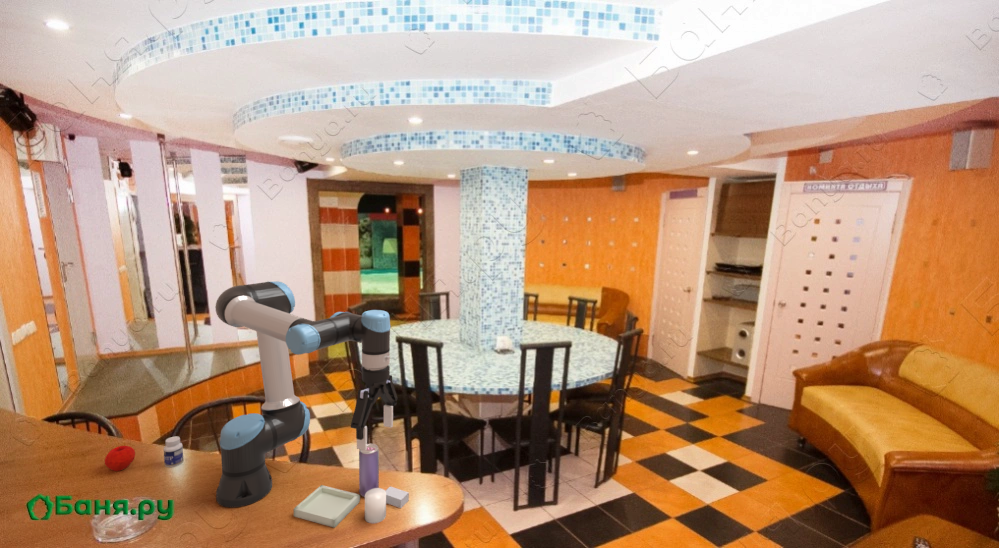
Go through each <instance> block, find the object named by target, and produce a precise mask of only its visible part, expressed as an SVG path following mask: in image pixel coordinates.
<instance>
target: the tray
mask: <svg viewBox="0 0 999 548" xmlns="http://www.w3.org/2000/svg"><path fill="white" fill-rule="evenodd" d="M360 502H361V494H360V493H356V492H352V491H351V492H350V491H347V490H342V489H339V488H336V487H335V488H334V487H332V486H326V485H323V484H321V485H320V486H319V487H317V488H316V489H315V490H314V491H312V493H311V492H310V494H309V495H308V496H306V497H305V499H303V500H302V501H301V502H300V503H298V504H297V505H296V506H295V507H294V508H293V517H295V518H299V519H302V520H305V521H310V522H313V523H316V524H320V525H324V526H325V527H326V526H327V527H331V528H334V529H335V528H337V526H338V525H339V524H340V523H341V522H342V521H343V520H344V519H345V518H346V517H347V516H348V515H349V513H351V512H352V511H353V509H354V508H356V507H357V506H358V504H359V503H360Z"/></svg>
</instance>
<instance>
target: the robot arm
mask: <svg viewBox="0 0 999 548" xmlns="http://www.w3.org/2000/svg"><path fill="white" fill-rule="evenodd" d="M295 307H296V299H295V296H294V293H293V291H292V290H291V288H290V286H288V285H287V284H286V283H285V282H282V281H279V280H277V281H265V282H259V283H251V284H242V285H235V286H232V287H229V288H227V289H226V290H224V291H223V292H221V294H219V296H218V298H217V300H216V302H215V312H216V316H217V317H218V319H220V321H221V322H223V323H224V324H226V325H228V326H230V327H233V328H247V329H249V330H252V331H255V332H256V337H257V345H258V352H259V361H260V368H261V375H262V377H261V378H262V384H263V388H264V389H263V390H264V398H265V401H264V403H263V404H262V405H261V414H260V413H255V412H254V413H248V414H241V415H239V416H237V417H234V418H232V419H231V420H229V421H228V422H226V423H225V424H224V426H222V428H221V430H220V436H219V437H220V439H219V446H220V457H221V476H220V478H219V479H220V480H219V483H218V486H217V489H216V492H215V494H216V497H215V498H216V503H217V504H218V505H219V506H220V507H225V508H240V507H245V506H249V505H252V504H254V503H256V502H258V501H261V500H262V499H263V498H265V497H266V496H268V494H269V493H270V492H271V491H272V488H273V479H272V476H271V475H272V474H271V473H270V471H269V468H268V466H267V464H266V454H267V453H269V452H271V451H272V450H276V449H277V448H279V447H281V446H284V445H285V444H288V443H290V442H292V441H295V440H297V439H298V438H300V437H302V436H304V434H305V433H306V432H307V431H308V429H309V427H310V424H311V413H310V410H309V408H307V407H308V405H306V403H304V402H303V401H301V399H300V397H299V396H296V395H295V389H294V384H293V376H292V368H291V367H292V366H291V361H290V353H289V351H290V352H291V353H292V354H294V355H297V356H299V355H303V354H310V353H313V352H316V351H318V350H319V351H320V350H322V349H325V348H329V347H332V346H335V345H339V344H342V343H346V342H349V341H350V342H356V343H359V344H360V343H361V366H362V368H361V380H362V382H364V384H365V387H364V389H359V390H358V391H357V399H356V404H355V406H354V407H355V408H354V411H353V415H352V419H351V421H350V428H352V429H355V431H356V433H355V434H356V437H355V438H356V449H357V450H360V449H361V450H367V444H368V426H367V421H368V419H369V416H370V414H371V411H372V408H373V406H374V405H375V404H376V401H377V400H378V399H379V398H381V400H382V401H383V402H384V404H383V427H386V428H390V429H391V428H393V427H394V406H397V404H398V403H397V402H398V394H397V391H396V388H395V386H394V382H393V375H392V374H391V373H390V370H391V368H390V359H391V356H390V354H391V353H390V346H391V345H390V344H391V343H390V342H391V340H390V339H391V327H392V326H391V317H390V314H389V312H388V311H385V310H381V309H371V310H367V311H364V312H363V313H362V314H361V315H360V314H355V313H351V312H349V311H345V312H344V311H337V312H335V313H333V314H332V315H331V316H330V317H328V318H324V319H320V320H311V319H306V318H304V317H301V316H298V315H295V314H291V313H292V312H293V311H294V309H295Z"/></svg>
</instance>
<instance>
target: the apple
mask: <svg viewBox="0 0 999 548" xmlns="http://www.w3.org/2000/svg"><path fill="white" fill-rule="evenodd" d="M135 457H136V451H135V449H134V448H133V447H132V446H128V445H119V446H116V447H114V448H112V449H110V450H109V452H108V453H107V454H106V456H105V458H104V465H105V467H106V468H108V469H109V470H111V471H114V472H120V471H122V470H125V469H127V468H128V467H129V466H130V465H131V464H132V462H133V461H134V460H135Z"/></svg>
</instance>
